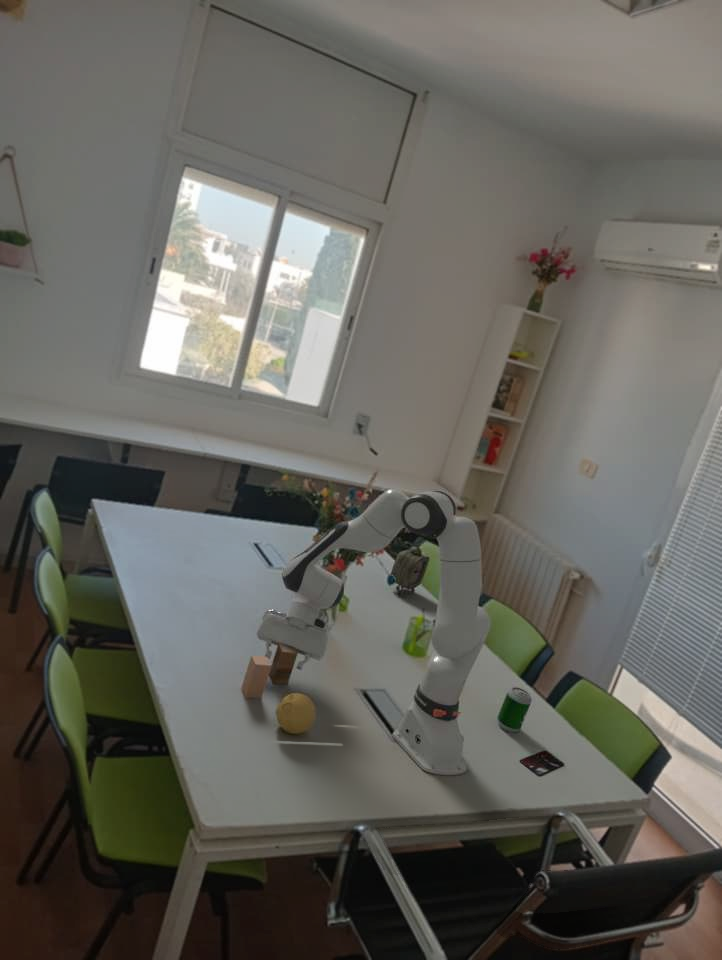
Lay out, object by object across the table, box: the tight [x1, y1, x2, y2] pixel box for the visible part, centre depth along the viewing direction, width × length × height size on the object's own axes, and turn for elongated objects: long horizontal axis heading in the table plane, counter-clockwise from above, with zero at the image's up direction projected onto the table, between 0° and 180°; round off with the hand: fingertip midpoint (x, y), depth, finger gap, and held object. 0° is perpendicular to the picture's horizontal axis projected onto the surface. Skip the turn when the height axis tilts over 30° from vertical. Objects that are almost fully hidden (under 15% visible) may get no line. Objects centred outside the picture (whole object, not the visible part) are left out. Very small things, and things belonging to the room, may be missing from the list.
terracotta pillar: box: [241, 655, 272, 700], centre depth 198 cm, size 4×4×10 cm
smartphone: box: [519, 749, 565, 777], centre depth 212 cm, size 7×1×15 cm
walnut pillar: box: [268, 643, 299, 685], centre depth 209 cm, size 4×4×10 cm
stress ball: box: [275, 691, 316, 735], centre depth 188 cm, size 10×10×10 cm
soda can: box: [496, 686, 533, 733], centre depth 226 cm, size 8×8×12 cm
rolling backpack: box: [390, 536, 430, 597], centre depth 310 cm, size 14×9×25 cm, turn 148°
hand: (283, 663), depth 208 cm, fingers open, 8 cm apart
